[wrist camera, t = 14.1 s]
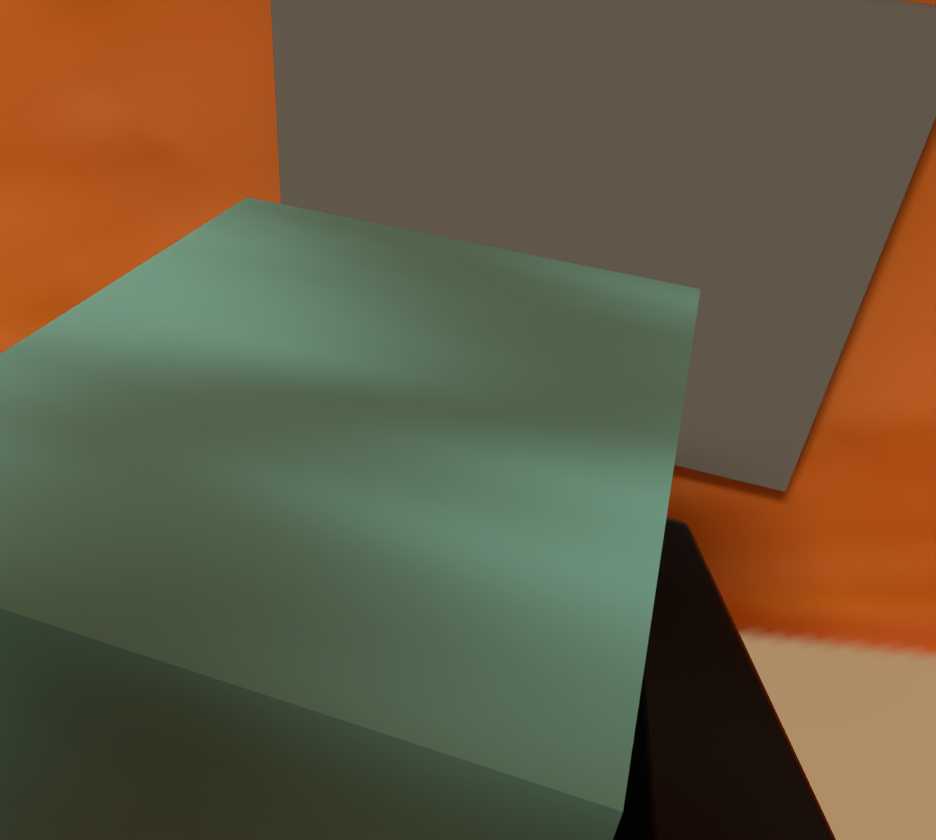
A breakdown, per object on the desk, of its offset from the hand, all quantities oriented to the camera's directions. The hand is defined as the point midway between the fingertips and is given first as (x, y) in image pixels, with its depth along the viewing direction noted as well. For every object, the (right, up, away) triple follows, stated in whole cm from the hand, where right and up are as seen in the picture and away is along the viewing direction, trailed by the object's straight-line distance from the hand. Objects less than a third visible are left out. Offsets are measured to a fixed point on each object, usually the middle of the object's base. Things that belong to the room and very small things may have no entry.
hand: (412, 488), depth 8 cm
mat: (+2, +4, +6) cm, 8 cm away
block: (0, +1, +1) cm, 1 cm away
